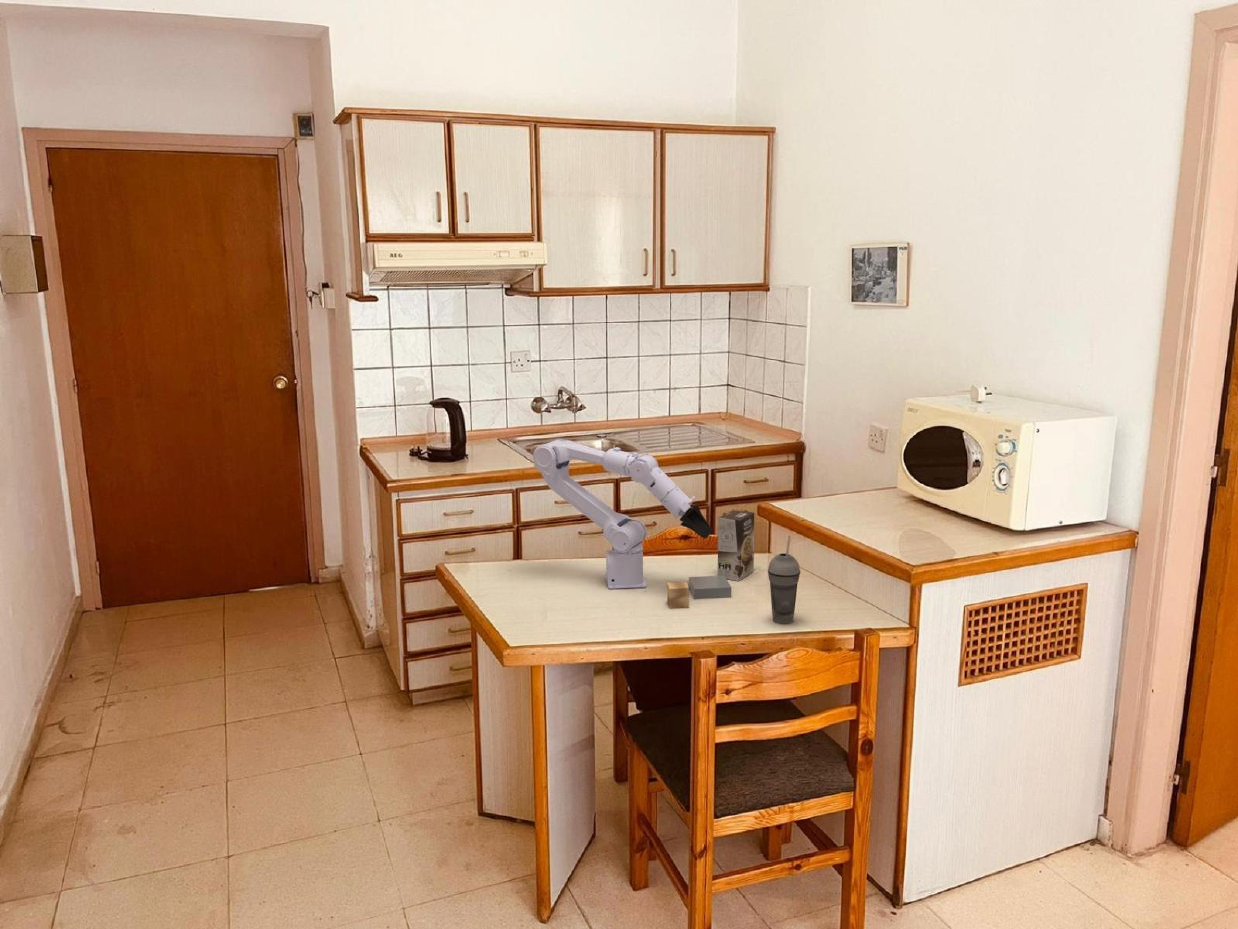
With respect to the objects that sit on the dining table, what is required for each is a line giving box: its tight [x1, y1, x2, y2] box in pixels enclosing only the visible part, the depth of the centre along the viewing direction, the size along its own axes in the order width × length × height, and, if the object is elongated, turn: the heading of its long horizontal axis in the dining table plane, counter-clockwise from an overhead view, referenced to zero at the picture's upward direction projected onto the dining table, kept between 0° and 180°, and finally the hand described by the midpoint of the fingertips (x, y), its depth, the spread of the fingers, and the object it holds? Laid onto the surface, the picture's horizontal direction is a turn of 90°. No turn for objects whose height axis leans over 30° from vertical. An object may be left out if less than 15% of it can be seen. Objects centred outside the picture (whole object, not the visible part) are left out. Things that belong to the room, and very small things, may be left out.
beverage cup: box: [767, 535, 801, 625], centre depth 216 cm, size 7×7×20 cm
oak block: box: [666, 581, 690, 610], centre depth 229 cm, size 4×4×5 cm
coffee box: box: [717, 509, 755, 582], centre depth 248 cm, size 9×6×16 cm
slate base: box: [688, 575, 732, 600], centre depth 238 cm, size 9×9×2 cm
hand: (708, 534), depth 233 cm, fingers open, 7 cm apart
